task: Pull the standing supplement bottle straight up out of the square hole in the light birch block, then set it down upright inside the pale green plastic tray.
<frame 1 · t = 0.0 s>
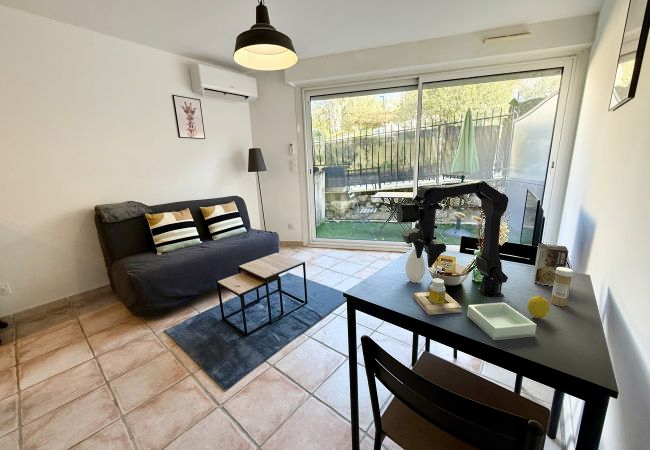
hand: (423, 262, 102), 15 cm above the table, tool pointing down, fingers open, 9 cm apart
lemon: (536, 318, 91), on the table
supplement bottle: (436, 305, 101), resting in socket block
sauce bottle: (414, 282, 120), on the table
sprinkles bottle: (557, 304, 100), on the table
socket block: (436, 304, 101), on the table
tray: (498, 325, 88), on the table
coffee box: (546, 283, 115), on the table
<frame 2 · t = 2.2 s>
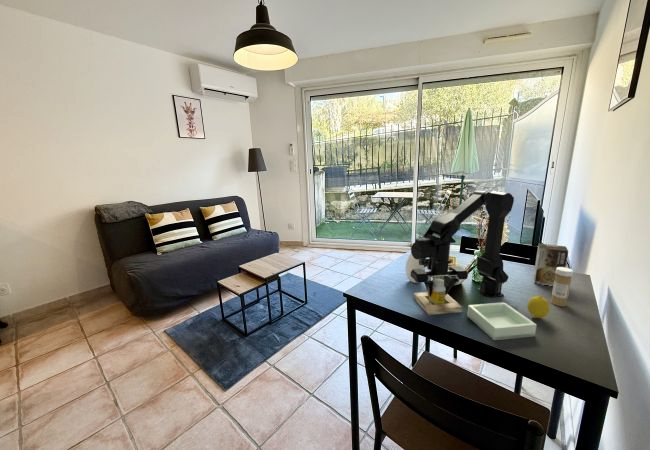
hand: (437, 295, 100), 4 cm above the table, tool pointing down, fingers closed on supplement bottle, 5 cm apart
supplement bottle: (436, 305, 101), resting in socket block, touching gripper
everything else where it was.
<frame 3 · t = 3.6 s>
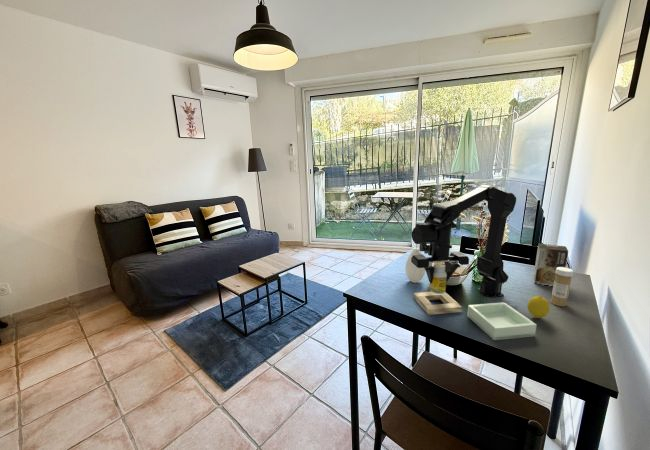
hand: (438, 282, 99), 9 cm above the table, tool pointing down, fingers closed on supplement bottle, 5 cm apart
supplement bottle: (437, 291, 100), point 5 cm above the table, touching gripper
everything else where it was.
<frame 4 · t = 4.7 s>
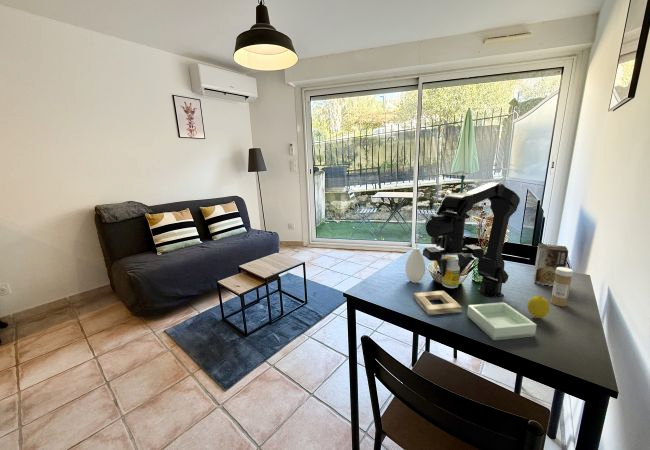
hand: (450, 275, 96), 13 cm above the table, tool pointing down, fingers closed on supplement bottle, 5 cm apart
supplement bottle: (449, 285, 96), point 9 cm above the table, touching gripper
everything else where it was.
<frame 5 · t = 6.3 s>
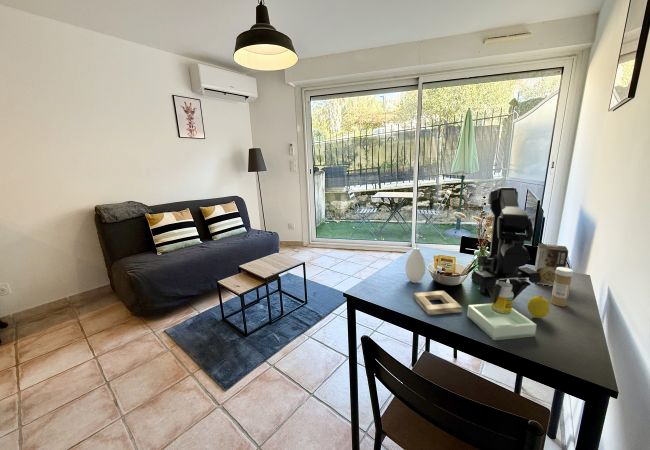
hand: (501, 301, 86), 8 cm above the table, tool pointing down, fingers closed on supplement bottle, 5 cm apart
supplement bottle: (500, 312, 87), point 5 cm above the table, touching gripper
everything else where it was.
when the fingers open (6 cm above the table, at t = 7.5 s): supplement bottle drops 1 cm, resting on tray.
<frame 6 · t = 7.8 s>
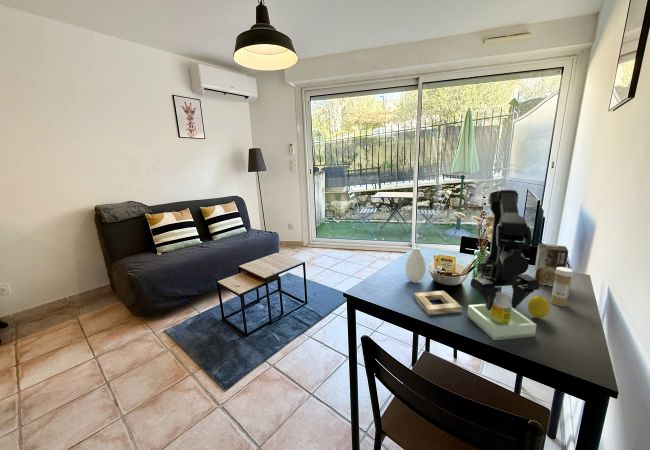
hand: (501, 308, 87), 6 cm above the table, tool pointing down, fingers open, 8 cm apart
supplement bottle: (498, 323, 88), point 1 cm above the table, touching tray
everything else where it was.
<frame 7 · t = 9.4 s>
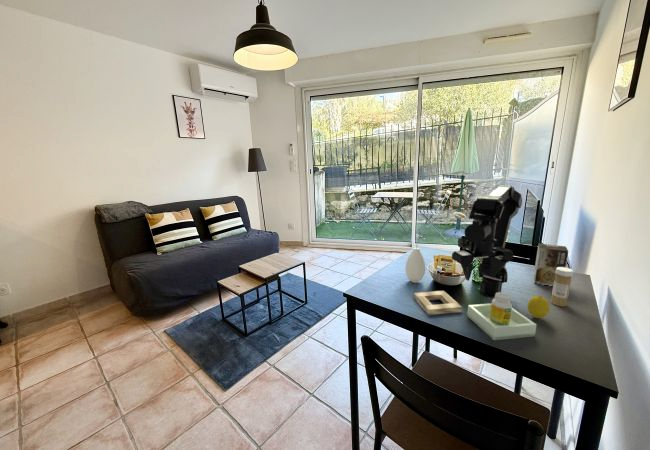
hand: (479, 278, 94), 12 cm above the table, tool pointing down, fingers open, 9 cm apart
nothing on the table moved.
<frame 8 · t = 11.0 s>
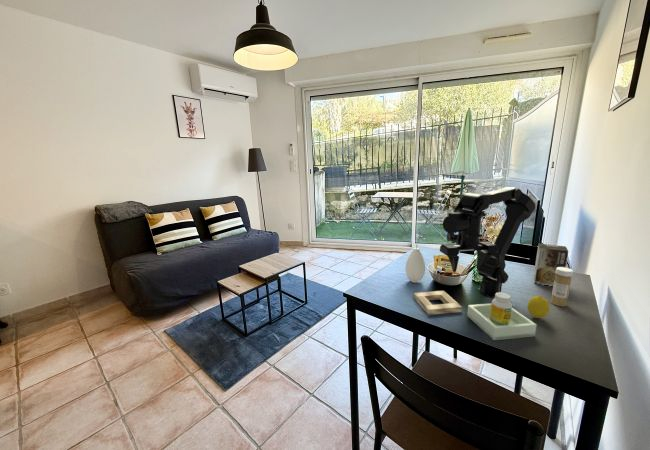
hand: (466, 271, 100), 12 cm above the table, tool pointing down, fingers open, 9 cm apart
nothing on the table moved.
at the end: supplement bottle inside the target area on the tray (0.0 cm from its centre), point 0.8 cm above the tray's base; supplement bottle tilted 0°; the gripper is holding nothing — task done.
